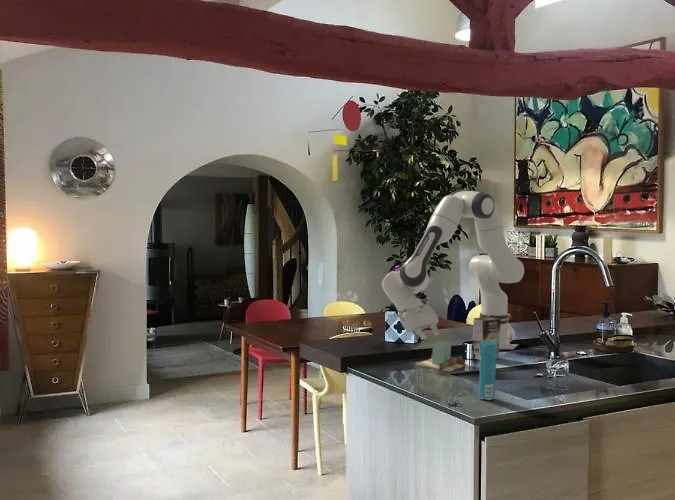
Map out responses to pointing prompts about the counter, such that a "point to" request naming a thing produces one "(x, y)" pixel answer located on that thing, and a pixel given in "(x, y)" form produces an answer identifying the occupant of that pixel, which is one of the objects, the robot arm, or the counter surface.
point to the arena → (444, 364)
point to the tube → (487, 368)
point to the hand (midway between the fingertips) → (431, 336)
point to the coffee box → (485, 333)
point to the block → (441, 352)
